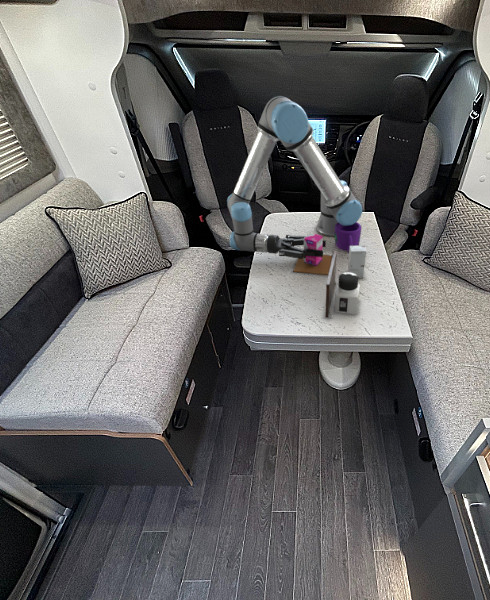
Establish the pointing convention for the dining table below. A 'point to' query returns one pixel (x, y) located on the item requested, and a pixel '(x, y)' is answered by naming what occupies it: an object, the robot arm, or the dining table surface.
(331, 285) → the backboard
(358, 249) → the cosmetic box
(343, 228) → the mug
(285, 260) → the dining table surface
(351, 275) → the container
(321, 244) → the supplement box
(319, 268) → the cork mat
